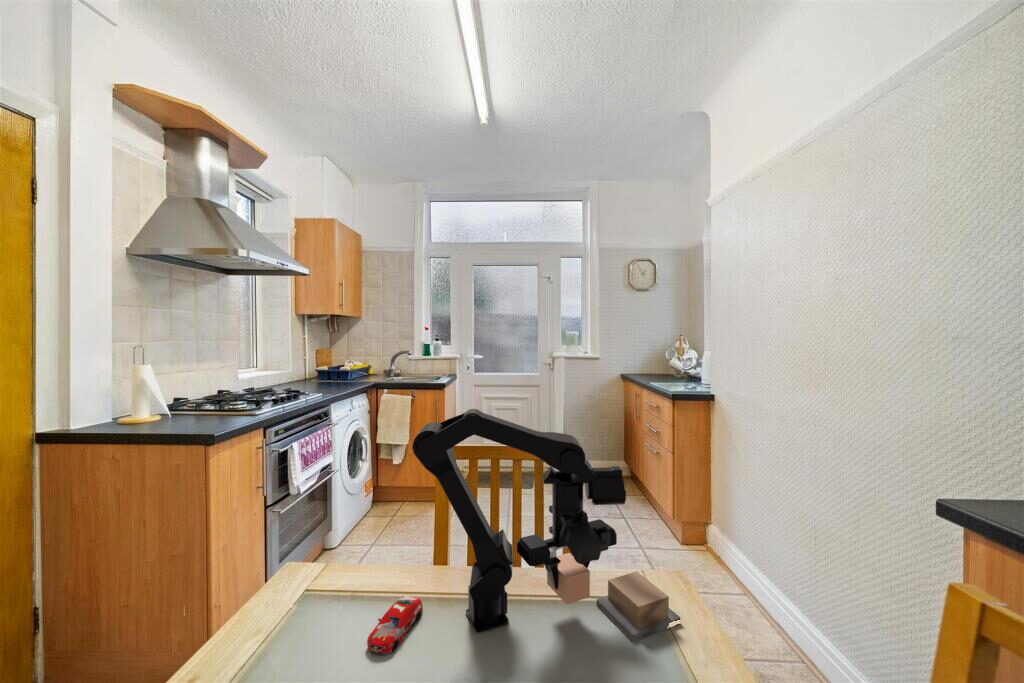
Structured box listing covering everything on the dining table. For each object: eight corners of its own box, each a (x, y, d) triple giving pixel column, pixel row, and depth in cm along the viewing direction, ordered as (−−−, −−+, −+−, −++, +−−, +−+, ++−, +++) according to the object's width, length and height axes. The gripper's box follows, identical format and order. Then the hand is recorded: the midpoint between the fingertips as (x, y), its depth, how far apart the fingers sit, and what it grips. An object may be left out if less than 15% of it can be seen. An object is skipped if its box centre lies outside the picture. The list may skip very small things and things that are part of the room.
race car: (388, 662, 76) (387, 639, 76) (361, 654, 78) (360, 632, 78) (428, 612, 89) (427, 592, 89) (403, 606, 91) (403, 587, 90)
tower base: (632, 641, 80) (632, 613, 80) (596, 605, 90) (596, 579, 90) (680, 623, 85) (681, 596, 84) (641, 590, 95) (641, 566, 94)
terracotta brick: (566, 604, 82) (566, 577, 82) (547, 583, 89) (547, 558, 88) (589, 596, 84) (589, 570, 84) (569, 577, 91) (569, 552, 90)
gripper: (543, 533, 74) (544, 625, 75) (636, 512, 82) (635, 595, 83) (515, 507, 84) (516, 588, 85) (599, 490, 92) (599, 564, 93)
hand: (567, 584), depth 86 cm, fingers closed on terracotta brick, 5 cm apart
